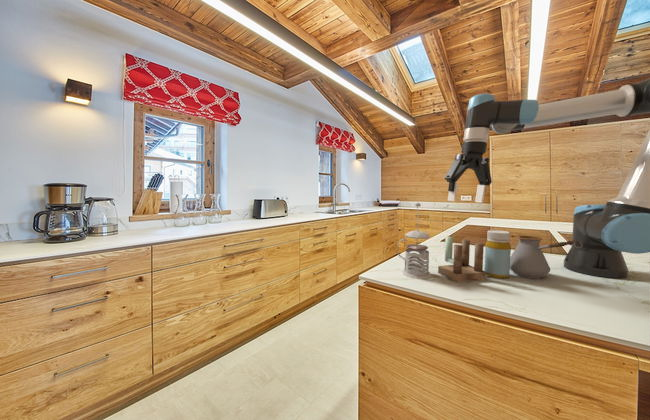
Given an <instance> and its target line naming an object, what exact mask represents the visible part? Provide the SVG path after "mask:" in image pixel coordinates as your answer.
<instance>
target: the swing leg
mask: <svg viewBox="0 0 650 420" xmlns="http://www.w3.org/2000/svg"><path fill="white" fill-rule="evenodd" d="M453 240H454V237H453V236H445V242H444V243H445V244H444V245H445V247H444V248H445V249H444V261H445V262H446V263H449V264H451V265H453V263H454V258H453V250H454V245H453V244H454V241H453Z"/></svg>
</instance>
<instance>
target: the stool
mask: <svg viewBox="0 0 650 420" xmlns="http://www.w3.org/2000/svg"><path fill="white" fill-rule="evenodd" d="M470 246H471V240H469V239H462V240H461V244H454V245H453V259H454V263H453V264H445V265H438V267H437V269H438V271H437V273H438V274H440V275H442V276H444V277H445V278H447V279H448V280H451V281H452V282H454V283H465V282H475V281H481V280H482V281H484V280H487V275H486V272H485V271H484V268H483V267H484V250H485V245H484V243H481V242H480V243H479V242H476V243H474V260H473V261H474V262H473V264H474V265H470V253H471V252H470V249H471V247H470Z"/></svg>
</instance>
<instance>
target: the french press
mask: <svg viewBox="0 0 650 420" xmlns="http://www.w3.org/2000/svg"><path fill="white" fill-rule="evenodd" d="M421 206H422V205H421V203H420V202H416V203H414V207H416V208H417V209H416V230H411V231H408V232H407V233H405V234H404V236H405V237H406V238H405V237H403V238H401V239H400V240H398V242H397V244H396V245H397V246H396V250H397V251H396V252H397V253H396V254H397V255H398V257H399V258H401V259H403V260H404V269H403V270H402V271H401V273H403V274H402V275H404V276H405V277H408V278H411V279H416V280H424V279H429V278H432V274H431V272H430V271H429V268H430V267H429V266H430V265H429V263H430V262H429V260H430V252H429V250H428V248H429V247H428V246H427V245H425V244H418V243H415V244H413V243H411V244H406V246H405V247H406V249H405V254H404V256H405V257H404V256H402V255H401V254H400V252H399V244H400V243H401V242H402V241H405V242H404V243H407V238H409V239H416V240H418V239H419V240H422V239H424V240H426V239H429V238H430V237H431V235H430V234H428V232H425V231H422V230H418V227H419V222H418V220H419V219H418V217H419V207H421ZM416 252H417V253H416Z"/></svg>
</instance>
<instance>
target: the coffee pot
mask: <svg viewBox="0 0 650 420" xmlns="http://www.w3.org/2000/svg"><path fill="white" fill-rule="evenodd" d="M516 238H518V241H519V242H518V243H517V246H516V247H515V249H514V250H513V252H512V253H511V255H510V271H511V272H512V273H513V274H514V275H516V276H519V277H522V278H527V279H528V278H529V279H541V278H543V277H545V276H547V275H549V273H550V271H551V267H550V265H549V263H548V261H547V258H546V256H545V254H544V252H543V251H542V250H543V249H549V248H550V249H551V248H561V247H562V248H563V247H565V246H572V244H574V246H575V244H576V243H578V242H579V241H576V240H575V241H572V240H567V241H561V242H557V243H556V242H555V243H551V244H548V245H542V246H541V245H540V243H541V241H542V240H543V238H542V237H539V236H534V235H518V236H517V237H516ZM579 243H581V242H579ZM575 247H576V246H575ZM581 247H582V243H581ZM581 247H577V248H581Z"/></svg>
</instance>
